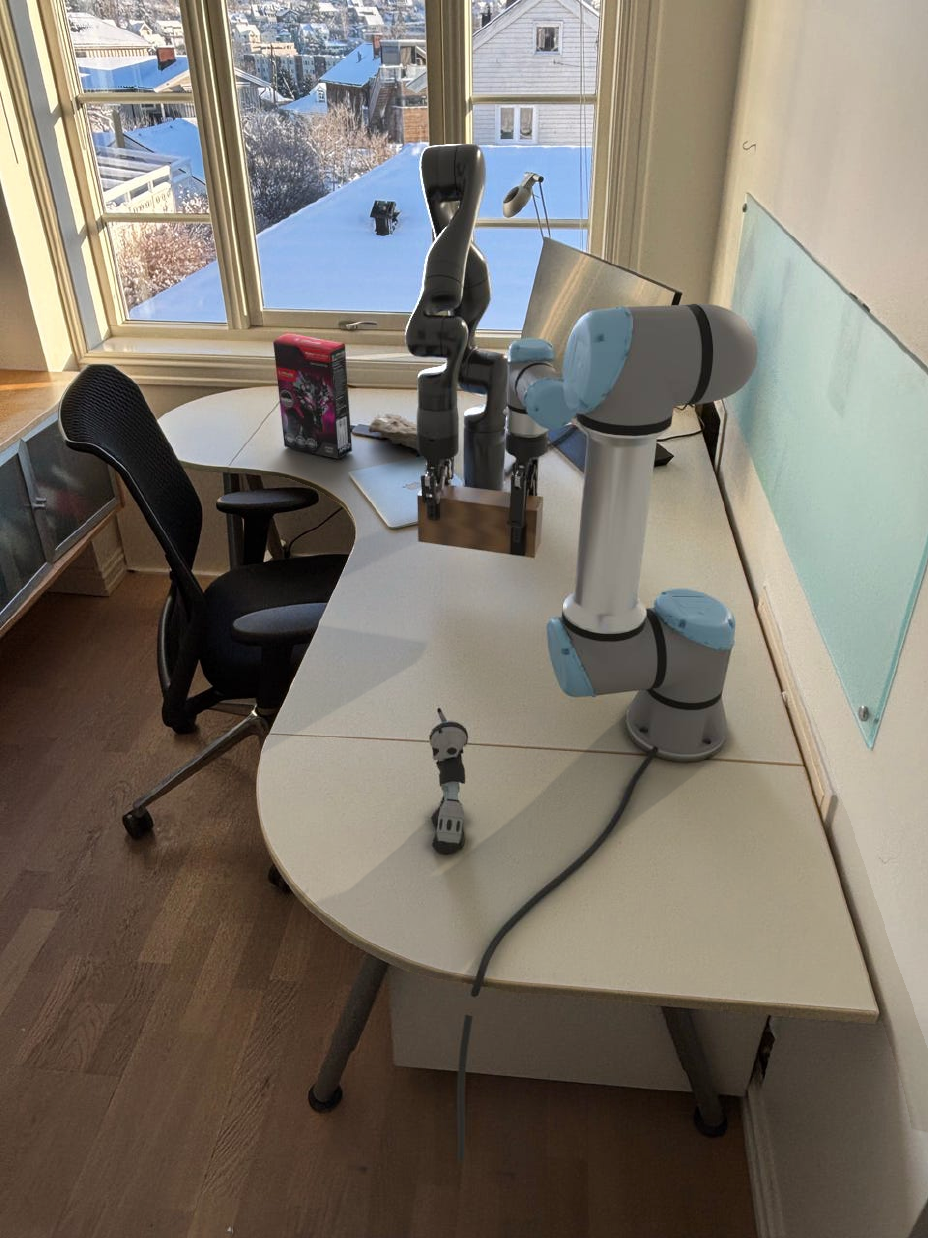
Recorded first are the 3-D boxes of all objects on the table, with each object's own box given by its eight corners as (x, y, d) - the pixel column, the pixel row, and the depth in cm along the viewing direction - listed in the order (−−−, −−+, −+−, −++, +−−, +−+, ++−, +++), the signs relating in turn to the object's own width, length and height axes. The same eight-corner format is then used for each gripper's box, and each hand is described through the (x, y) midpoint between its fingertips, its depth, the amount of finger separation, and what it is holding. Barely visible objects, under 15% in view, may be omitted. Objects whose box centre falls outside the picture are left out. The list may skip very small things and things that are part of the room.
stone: (352, 437, 229) (357, 414, 227) (374, 429, 242) (378, 406, 240) (431, 462, 226) (437, 438, 223) (448, 452, 239) (454, 429, 237)
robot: (470, 888, 117) (472, 772, 106) (432, 889, 117) (430, 773, 106) (463, 780, 133) (464, 669, 122) (429, 781, 133) (427, 670, 122)
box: (540, 543, 176) (543, 496, 170) (534, 558, 171) (537, 510, 166) (427, 527, 181) (426, 481, 175) (418, 541, 176) (417, 495, 170)
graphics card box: (282, 447, 232) (270, 339, 217) (298, 438, 237) (288, 331, 222) (338, 461, 225) (330, 350, 210) (354, 451, 230) (347, 342, 215)
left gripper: (429, 411, 172) (430, 493, 181) (405, 441, 160) (407, 526, 170) (468, 415, 170) (467, 498, 180) (446, 446, 159) (446, 532, 168)
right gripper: (518, 408, 169) (513, 519, 182) (493, 449, 154) (489, 568, 167) (558, 412, 168) (550, 524, 181) (537, 454, 152) (530, 573, 165)
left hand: (438, 511), depth 175 cm, fingers closed on box, 6 cm apart
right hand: (521, 545), depth 174 cm, fingers open, 6 cm apart
